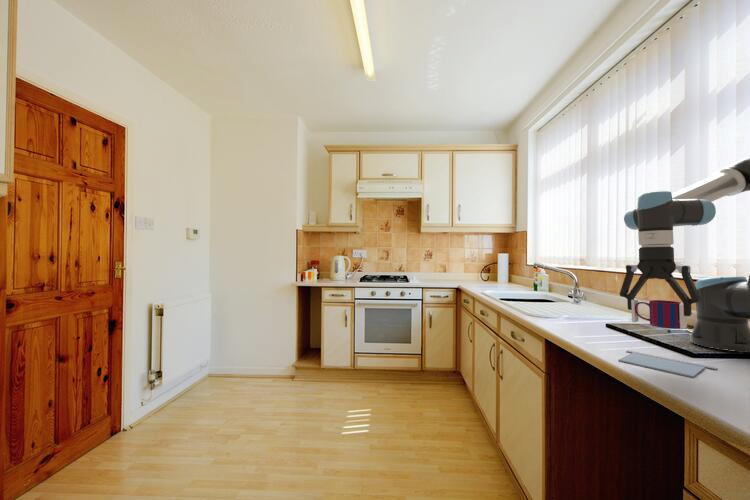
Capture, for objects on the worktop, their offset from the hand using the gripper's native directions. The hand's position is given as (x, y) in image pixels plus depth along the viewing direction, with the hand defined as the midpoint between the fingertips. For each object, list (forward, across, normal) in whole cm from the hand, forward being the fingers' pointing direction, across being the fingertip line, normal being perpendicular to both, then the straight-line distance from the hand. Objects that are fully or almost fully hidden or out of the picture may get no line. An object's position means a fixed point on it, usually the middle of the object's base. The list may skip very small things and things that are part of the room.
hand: (658, 324), depth 91 cm
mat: (+11, 0, 0) cm, 11 cm away
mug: (0, 0, 0) cm, 0 cm away
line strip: (+11, 0, +7) cm, 13 cm away
